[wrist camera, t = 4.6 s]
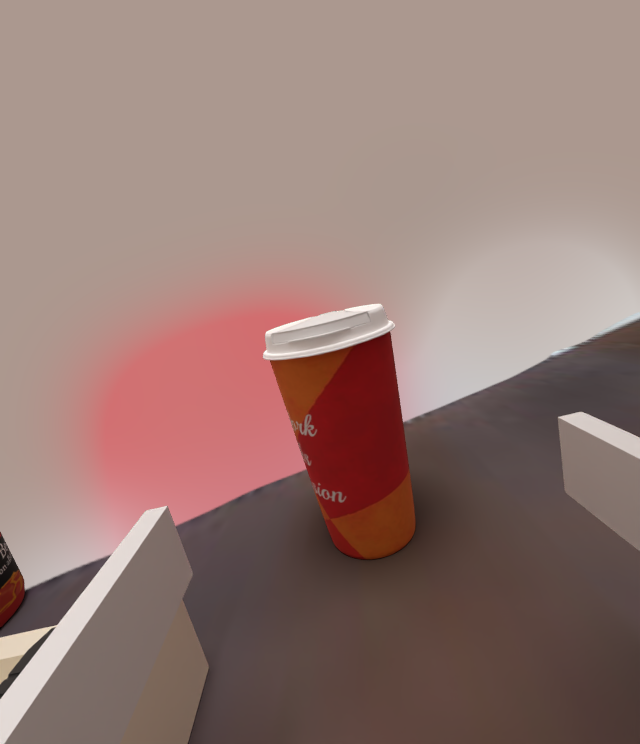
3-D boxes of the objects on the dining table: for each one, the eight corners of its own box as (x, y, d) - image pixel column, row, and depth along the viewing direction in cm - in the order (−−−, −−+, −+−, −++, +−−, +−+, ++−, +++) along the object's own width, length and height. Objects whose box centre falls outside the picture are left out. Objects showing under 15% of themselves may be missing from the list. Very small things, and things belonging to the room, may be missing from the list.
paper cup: (322, 500, 27) (275, 324, 24) (423, 486, 26) (386, 298, 23) (306, 583, 20) (235, 344, 17) (446, 569, 19) (396, 306, 16)
